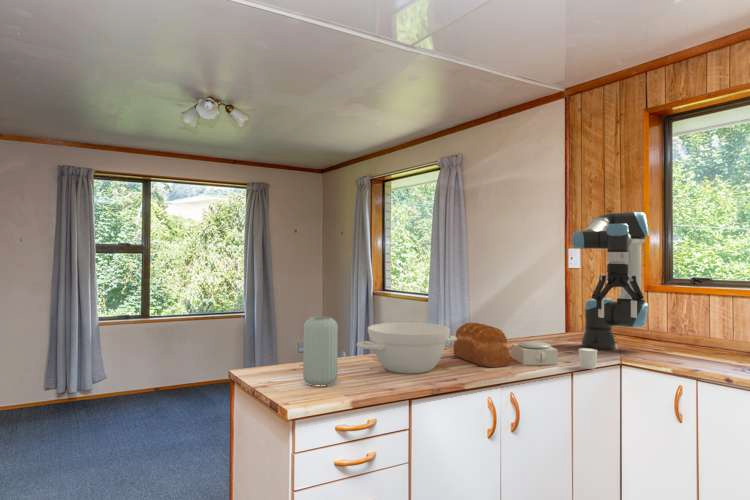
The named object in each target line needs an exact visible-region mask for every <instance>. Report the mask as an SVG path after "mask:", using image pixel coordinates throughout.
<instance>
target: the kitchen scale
mask: <svg viewBox="0 0 750 500" xmlns="http://www.w3.org/2000/svg"><path fill="white" fill-rule="evenodd" d="M558 350H559V349H558V348H555V347H553V346H551V344H550V343H547V342H542V341H530V340H529V341H526V340H525V341H518V342H517V343H511V358H512V359H513V360H515V361H516V362H517V363H519V364H521V363H522V364H521V365H523V366H534V365H535V366H545V365H547V366H548V365H550V366H551V365H555V366H556V365H558V364H559V363H558V361H559V360H558V358H559V357H558V356H559V355H558V353H559V351H558Z"/></svg>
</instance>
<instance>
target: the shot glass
mask: <svg viewBox="0 0 750 500" xmlns="http://www.w3.org/2000/svg"><path fill="white" fill-rule="evenodd" d="M577 350H578V358H579V359H578V360H579V367H580V368H581V369H588V370H593V369H594V370H595V369H596V367H597V359H598V349H593V348H587V347H582V348H578V349H577Z"/></svg>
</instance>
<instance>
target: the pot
mask: <svg viewBox="0 0 750 500" xmlns="http://www.w3.org/2000/svg"><path fill="white" fill-rule="evenodd" d="M367 334H368V336H369V339H370V340H371V341H369V340H367V341H365V340H364V341H359V342H358V341H357V343H356V347H357V348H359V349H365V350H374V354H375V355H376V358H377V359H378V362H379V363H380V364H381V366H383V368H384V369H386V370H387V371H389V372H390V373H394V372H395V373H396V374H401V373H402V374H401V375H403V374H405V375H417V374H419V373H420V374H425V373H429V372H431V370H433V369H434V368H435V367H436V366H437V365H438V363H439V361H440V359H441V358H442V355H443V353H444V351H445V347H446V344H451V343H452V342H454V341H456V340H457V337H456V335H455V336H454V335H451V328H450V327H449V326H446V325H442V324H437V323H428V322H427V323H426V322H413V321H412V322H411V321H410V322H383V323H376V324H371V325H368V326H367Z"/></svg>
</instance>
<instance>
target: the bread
mask: <svg viewBox="0 0 750 500" xmlns="http://www.w3.org/2000/svg"><path fill="white" fill-rule="evenodd" d="M455 337H457V340H456V341H453V356H455V357H457V358H458V359H459V358H460V359H462V360H464V361H467V362H470V363H472V364H475V365H478V366H481V367H484V368H485V367H486V368H501V367H507V366H509V364H510V357H511V356H510V347H509V345H508V339H507V337H506V334H505V333H504V332H503V331H502V329H500V328H497V327H494V326H490V325H488V324H485V323H479V322H466V323H463V325H461V326H459V328H457V329H456V332H455Z"/></svg>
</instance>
